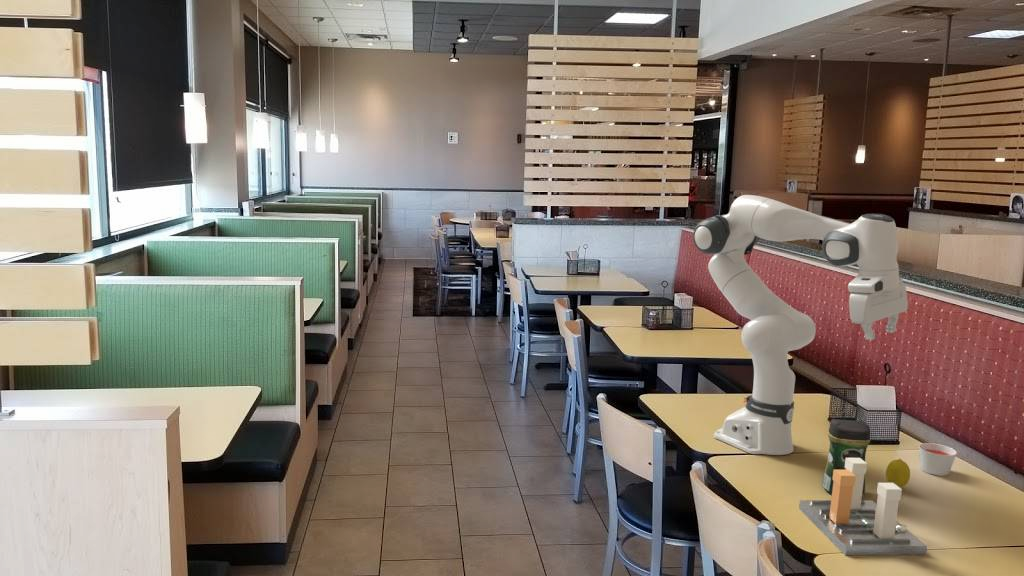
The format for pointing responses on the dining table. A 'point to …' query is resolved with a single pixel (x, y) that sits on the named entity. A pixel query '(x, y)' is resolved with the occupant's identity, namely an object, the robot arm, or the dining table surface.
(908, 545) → the console
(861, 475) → the cream knob left
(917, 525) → the dining table surface
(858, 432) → the coffee jar
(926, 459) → the white ramekin
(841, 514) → the tan tall block
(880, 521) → the cream knob right
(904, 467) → the lemon
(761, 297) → the robot arm
